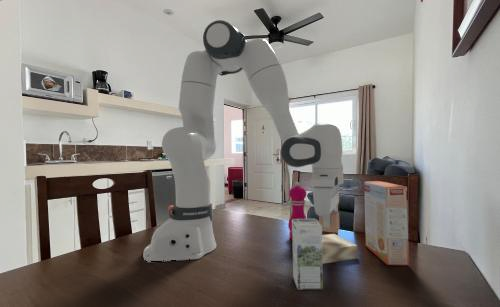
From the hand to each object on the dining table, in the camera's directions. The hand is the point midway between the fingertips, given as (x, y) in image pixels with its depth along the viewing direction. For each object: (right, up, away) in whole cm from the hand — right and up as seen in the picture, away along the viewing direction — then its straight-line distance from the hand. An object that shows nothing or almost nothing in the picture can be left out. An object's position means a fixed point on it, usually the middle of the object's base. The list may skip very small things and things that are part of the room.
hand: (329, 223), depth 73 cm
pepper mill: (-6, -9, +14) cm, 18 cm away
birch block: (0, -9, 0) cm, 9 cm away
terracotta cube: (0, -2, 0) cm, 2 cm away
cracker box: (+15, -9, -2) cm, 18 cm away
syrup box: (-11, -9, -17) cm, 22 cm away
